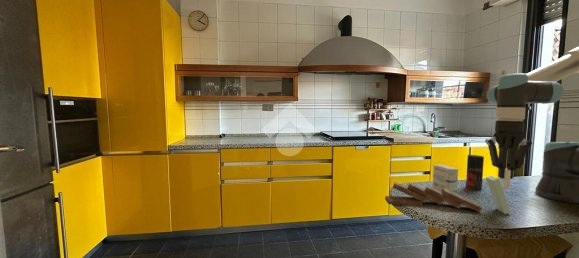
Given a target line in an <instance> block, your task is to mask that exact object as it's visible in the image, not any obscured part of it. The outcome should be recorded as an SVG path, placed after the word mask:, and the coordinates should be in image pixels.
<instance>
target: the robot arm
mask: <svg viewBox="0 0 579 258" xmlns="http://www.w3.org/2000/svg"><path fill="white" fill-rule="evenodd" d="M573 74H579V46H576V47H574V48H573V49H571V50H568V51H566V52H565V53H563V55H562V56H561V57H560V58H558V59H556V60H554V61H551V62H548V63H547V64H544V65H543V66H541V67H538V68H536V69H534V70H532V71H530V72H528V73H509V74H503V75H501V76H499V78H498V84H497V85H495V86H491V87H490V88H489V89H488V90H487V92H486V99H487V101H488V102H489V103H490V104H493V105H496V113H495V114H496V115H495V119H496V121H494V122H495V124H494V131H495V132H494V133H493V137H490V138H489V139H485V143H486V144H487V146H488V150H489V151H488V152H489V155H490V156H489V157H490V161H491V165H492V166H493V167H494V168H498V169H497V177H498V179H499V180H500V183H501V186H502V189H503V190H505V189H506V190H510V186H511V180H513V178H514V171H516V170H518V169H519V170H520V169H521V168H522V166H523V163H524V161H525V157H526V155H527V152H528V149H529V148H530V147H531V146H532V144H533V142H532V141H530V140H527V139H526V138H525V135H524V131H525V122H524V120H525V119H526V107H527V106H526V105H527V104H544V105H545V104H554V103H556V102H558V101H559V100H561V99H562V97H563V95H564V87H563V85H562V84H561V82H560V83H559V82H558V81H561V80H563V79H565V78H567V77H569V76H571V75H573ZM496 143H497V145H498V149H499V150H498V149H497V145H496ZM519 144H520V145H519ZM518 145H519V146H518ZM542 160H543V163H542V164H543V165H542V176H541V178H540V179H539V181H538V183H537V185H536V187H535V191H534V192H535V194H536V195H538V196H540V197H543V198H545V199H546V198H547V199H550V200H553V201H559V202H565V203H572V204H573V203H574V204H579V141H570V142H568V141H551V142H547V143H546V144H545V145H544V151H543V159H542Z"/></svg>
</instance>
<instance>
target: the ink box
mask: <svg viewBox="0 0 579 258" xmlns="http://www.w3.org/2000/svg"><path fill="white" fill-rule="evenodd" d="M432 172H433V173H432V187H434V188H436V189H438V190H440V191H442V190H443V188H446V189H448V190H450V191H453V192H455V193H457V194H458V184H459V183H458V181H459V177H458V176H459V169H458V168H456V167H452V166H449V165H448V166H447V165H444V164H434V165H433V170H432Z"/></svg>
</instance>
